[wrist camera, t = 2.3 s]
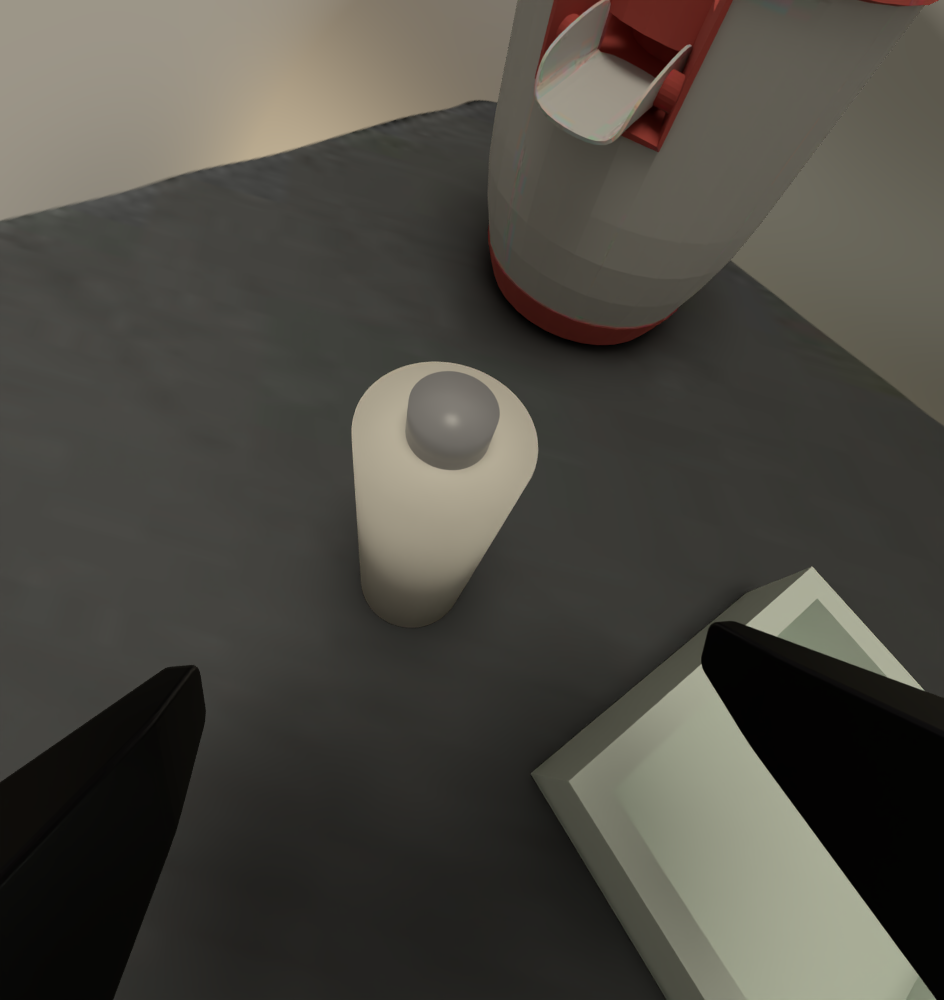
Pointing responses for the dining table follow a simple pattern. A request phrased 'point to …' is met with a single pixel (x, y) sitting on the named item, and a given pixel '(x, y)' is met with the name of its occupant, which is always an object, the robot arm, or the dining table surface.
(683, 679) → the walled box
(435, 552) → the grey-capped cream cylinder
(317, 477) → the dining table surface
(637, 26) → the citrus juicer
